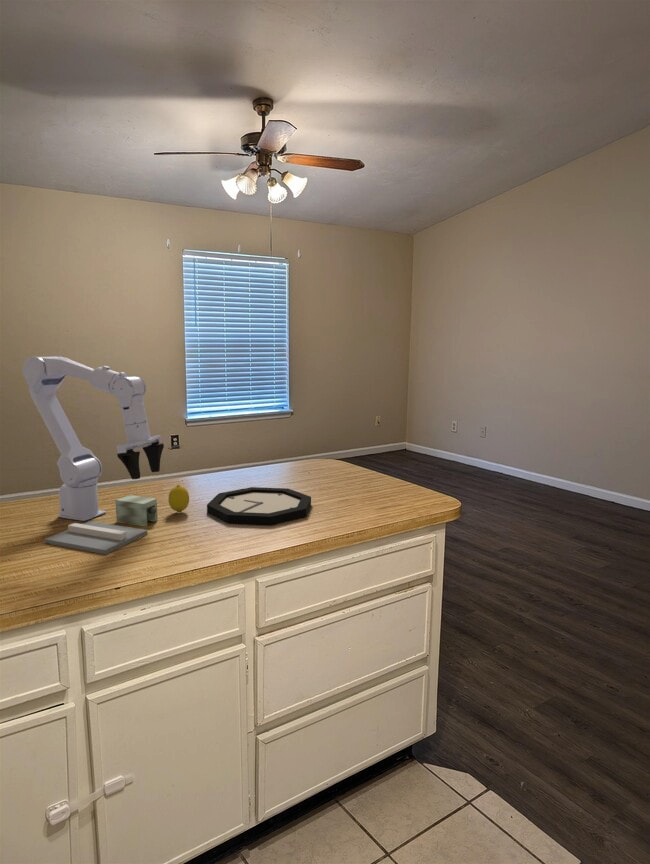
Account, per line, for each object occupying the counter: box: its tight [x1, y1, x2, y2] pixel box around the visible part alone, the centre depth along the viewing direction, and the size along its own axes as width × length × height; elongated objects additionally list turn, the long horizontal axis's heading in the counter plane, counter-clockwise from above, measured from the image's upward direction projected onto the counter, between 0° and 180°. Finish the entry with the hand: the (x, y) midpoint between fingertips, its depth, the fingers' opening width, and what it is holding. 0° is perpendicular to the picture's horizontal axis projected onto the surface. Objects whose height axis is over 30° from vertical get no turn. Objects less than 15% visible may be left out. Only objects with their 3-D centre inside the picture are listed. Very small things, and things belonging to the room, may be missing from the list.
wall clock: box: [206, 486, 312, 527], centre depth 152 cm, size 30×3×30 cm
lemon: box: [168, 484, 190, 514], centre depth 147 cm, size 6×6×8 cm
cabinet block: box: [114, 494, 158, 527], centre depth 140 cm, size 10×5×6 cm, turn 69°
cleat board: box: [44, 520, 148, 555], centre depth 127 cm, size 18×14×2 cm
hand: (146, 475), depth 137 cm, fingers open, 7 cm apart
